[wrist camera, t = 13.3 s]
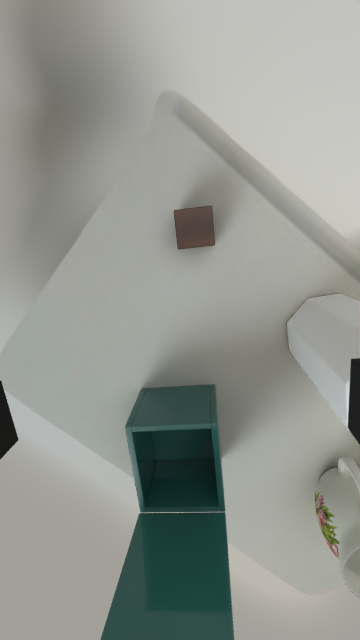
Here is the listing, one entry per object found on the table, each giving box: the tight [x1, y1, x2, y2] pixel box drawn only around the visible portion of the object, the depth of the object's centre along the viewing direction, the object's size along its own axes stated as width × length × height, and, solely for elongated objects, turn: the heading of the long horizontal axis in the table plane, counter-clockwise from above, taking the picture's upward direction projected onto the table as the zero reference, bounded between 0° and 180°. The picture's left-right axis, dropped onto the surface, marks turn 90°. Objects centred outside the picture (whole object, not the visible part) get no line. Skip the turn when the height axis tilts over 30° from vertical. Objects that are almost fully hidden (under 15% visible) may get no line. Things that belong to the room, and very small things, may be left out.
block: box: [174, 206, 215, 249], centre depth 37 cm, size 4×4×4 cm
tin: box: [125, 385, 225, 512], centre depth 43 cm, size 14×12×10 cm
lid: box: [101, 512, 234, 640], centre depth 32 cm, size 14×12×8 cm
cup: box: [287, 294, 360, 431], centre depth 32 cm, size 11×11×18 cm
